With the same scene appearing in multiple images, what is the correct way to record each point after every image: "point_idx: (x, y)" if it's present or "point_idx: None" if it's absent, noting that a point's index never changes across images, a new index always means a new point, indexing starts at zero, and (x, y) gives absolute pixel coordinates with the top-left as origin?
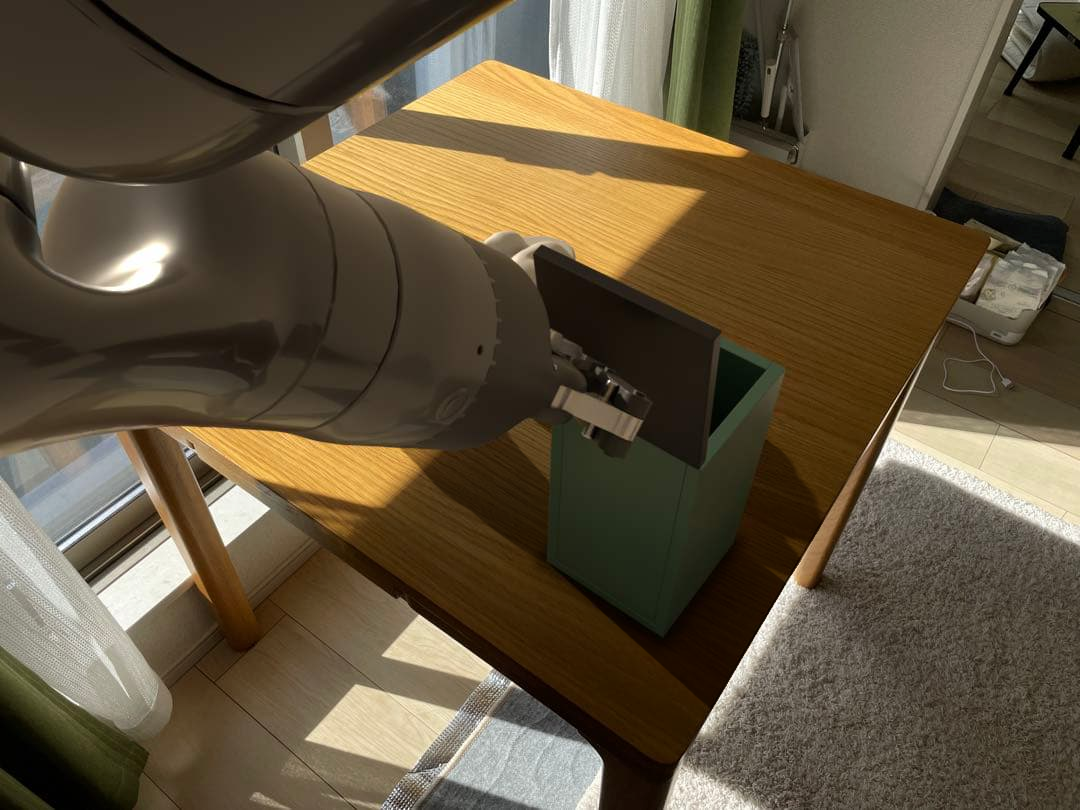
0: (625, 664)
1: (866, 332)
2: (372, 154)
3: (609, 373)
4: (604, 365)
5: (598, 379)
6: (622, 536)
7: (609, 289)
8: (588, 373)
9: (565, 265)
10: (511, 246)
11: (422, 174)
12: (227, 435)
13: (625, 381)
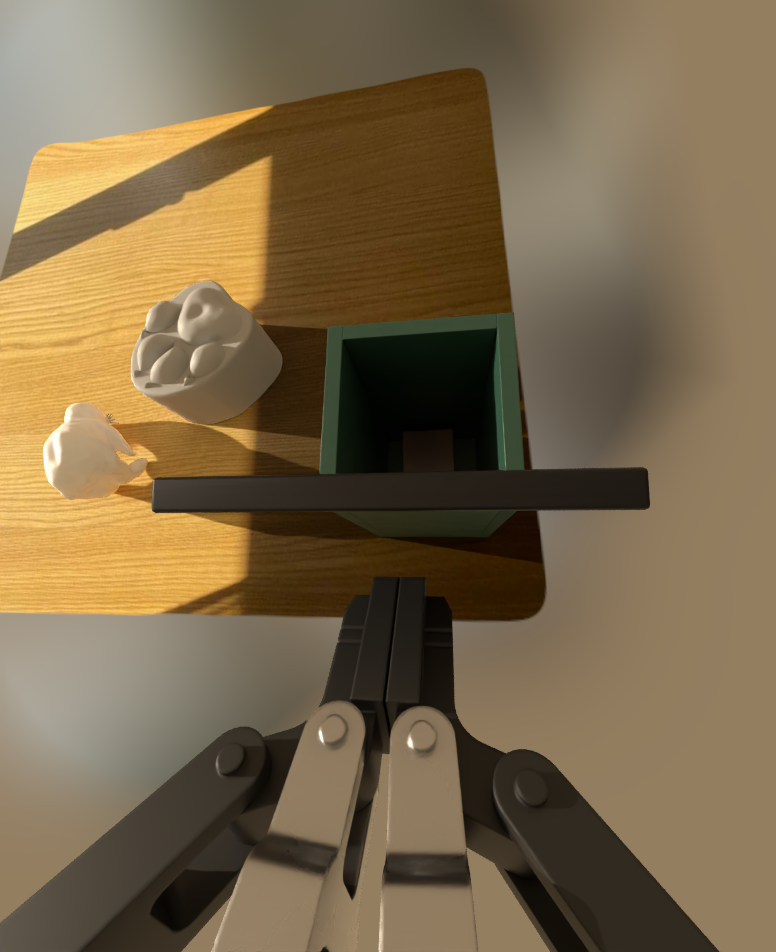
0: (478, 573)
1: (457, 199)
2: (15, 294)
3: (555, 837)
4: (422, 600)
5: (558, 906)
6: (440, 526)
7: (351, 507)
8: (465, 769)
9: (230, 503)
10: (169, 316)
11: (64, 286)
12: (103, 600)
13: (602, 824)
